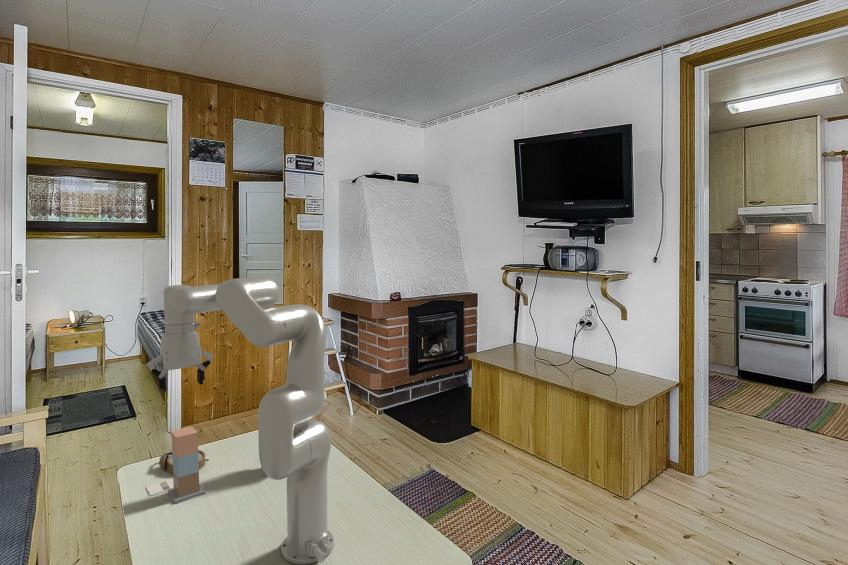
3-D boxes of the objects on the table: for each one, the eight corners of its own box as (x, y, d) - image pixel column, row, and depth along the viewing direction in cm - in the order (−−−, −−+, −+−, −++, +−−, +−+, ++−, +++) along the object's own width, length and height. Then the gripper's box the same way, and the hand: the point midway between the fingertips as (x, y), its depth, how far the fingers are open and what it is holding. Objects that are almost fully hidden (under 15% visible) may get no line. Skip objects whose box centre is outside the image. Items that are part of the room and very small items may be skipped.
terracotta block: (198, 452, 136) (197, 432, 135) (177, 457, 132) (176, 437, 131) (192, 445, 140) (192, 426, 139) (172, 450, 136) (171, 431, 136)
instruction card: (183, 485, 141) (183, 484, 141) (150, 496, 135) (150, 495, 135) (178, 477, 146) (178, 476, 146) (145, 487, 140) (145, 486, 140)
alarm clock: (189, 469, 146) (150, 455, 149) (187, 483, 146) (148, 469, 150) (213, 453, 157) (176, 440, 160) (211, 466, 157) (174, 453, 160)
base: (205, 493, 137) (204, 471, 136) (175, 503, 132) (174, 481, 131) (197, 482, 143) (196, 461, 142) (168, 492, 138) (167, 470, 137)
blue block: (198, 471, 136) (198, 452, 136) (178, 478, 133) (177, 457, 132) (193, 464, 140) (192, 445, 140) (173, 470, 137) (172, 451, 136)
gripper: (208, 323, 141) (209, 378, 142) (142, 330, 129) (145, 389, 131) (216, 327, 135) (217, 384, 137) (148, 334, 124) (151, 396, 126)
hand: (182, 386), depth 134 cm, fingers open, 9 cm apart
